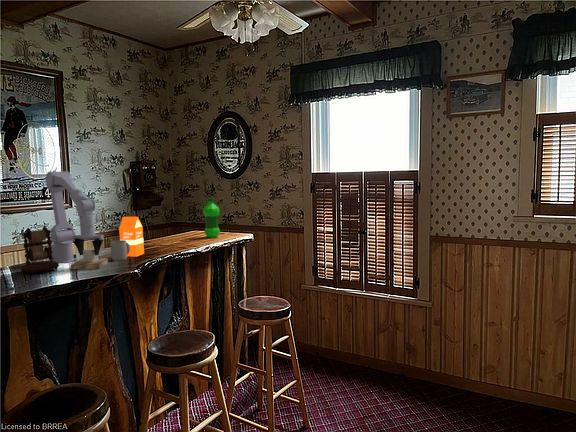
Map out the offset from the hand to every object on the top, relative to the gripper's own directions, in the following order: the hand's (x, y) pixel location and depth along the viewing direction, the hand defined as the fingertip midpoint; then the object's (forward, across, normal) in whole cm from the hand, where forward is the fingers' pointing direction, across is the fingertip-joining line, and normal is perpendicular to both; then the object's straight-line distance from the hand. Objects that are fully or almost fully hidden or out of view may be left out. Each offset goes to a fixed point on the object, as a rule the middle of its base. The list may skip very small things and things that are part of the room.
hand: (89, 254), depth 197 cm
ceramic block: (+3, 0, +1) cm, 3 cm away
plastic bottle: (+6, +32, +80) cm, 86 cm away
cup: (+6, +6, +17) cm, 19 cm away
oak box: (+6, 0, 0) cm, 6 cm away
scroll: (+6, -18, -10) cm, 21 cm away
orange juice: (+6, +7, +26) cm, 28 cm away
